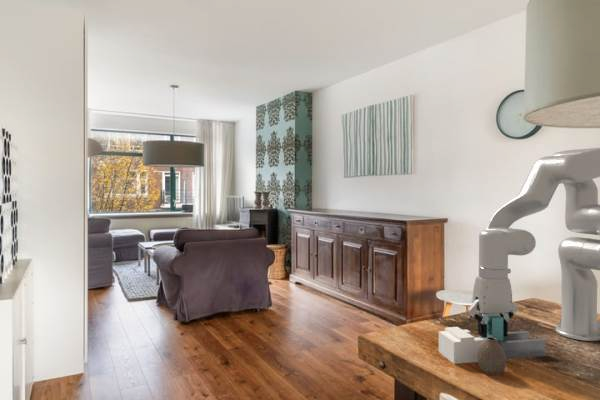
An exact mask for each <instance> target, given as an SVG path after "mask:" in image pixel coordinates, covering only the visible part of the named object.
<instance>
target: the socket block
mask: <svg viewBox="0 0 600 400" xmlns="http://www.w3.org/2000/svg"><path fill="white" fill-rule="evenodd" d="M471 333H472V332H471V331H470V330H469V329H462V328H460V327H458V326H449V327H444V330H440V331H438V353H439V354H441V355H442V356H443V357H445V358H446V359H447V360H448V361H449V362H450V363H452V364H453V365H455V364H457V365H458V364H459V365H460V364H468V363H470V364H471V363H478V360H477V352H478V349H479V347H480V346H481V345H482V344H483V343H484V340H483V339H482V338H483V337H481V336H480V337H475V336H473V335H472V334H471Z"/></svg>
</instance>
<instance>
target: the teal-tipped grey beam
mask: <svg viewBox="0 0 600 400" xmlns="http://www.w3.org/2000/svg"><path fill="white" fill-rule="evenodd" d="M485 324H487V337H493V338H496V339H497V341H498V342H501V341H503V317H501V316H499V314H488V316H487V319H486V322H485ZM481 338H482V339H483V340H484V342H485V340H486V338H483V337H481Z"/></svg>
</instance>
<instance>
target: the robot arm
mask: <svg viewBox="0 0 600 400" xmlns="http://www.w3.org/2000/svg"><path fill="white" fill-rule="evenodd" d="M597 178H600V147H591V148H590V147H589V148H581V149H568V150H561V151H558V152H555V153H553V154H552V155H549V156H544V157H540V158H538V159H537V160H535V162H534V164H533V165H532V167H531V169H530V171H529V173H528V174H527V177H526V179H525V181H524V183H523V185H522V186H521V189H520V191H519V192H518V194H517V195H516V196H515V197H513V198H512V199H510V200H508V202H506V203H505V204H504V205H502V206H501V207H500V208H499V209H498V210H497V211H496V212H495V213H494V214H493V215H492V217H491V218H490V220H489V222H488V224H487V227H486V228H485V229H484V230H481V231H480V232H479V235H478V276H476V277H475V280H474V284H473V290H472V303H471V304H470V306H469V307H468V308H467V310H466V311H467V312H468V313H469V315H471V316H472V317H473V319H474V320H475V321H476V322H477V333H478V335H479V336H480V337H481V338H487V324H485V322H486V319H487V316H488V314H497V315H499V316H501V317H503V336H507V332H509V330H508V329H509V328H508V327H509V323H510V322H511V319H512V318H513V316H514V315H515V313H516V312H518V310H519V309H518V306H517V305H516V304H515V303H514V302H513V290H512V284H511V280H510V278H509V274H511V272H512V270H511V268H509V256H510V255H511V256H521V257H522V256H526V255H529V254H531V253H532V252H533V251H534V250H535V248H536V245H537V241H536V238H535V236H534V234H532V233H531V232H530V231H528V230H525V229H521V228H511V226H512V225H513V224H514V223H516V221H519V220H521V219H522V218H526V217H528V216H531V215H534V214H536V213H537V214H538V213H539V212H542V211H544V210H545V209H547V208H548V207H549V205H550V202H551V200H552V199H553V196H554V194H555V193H556V190H557V188H558V187H559V185H560V184H562V185H563V186H564V189H565V190H564V191H565V209H564V210H565V213H564V220H565V222H564V223H565V227H566V229H567V230H569V231H570V232H572V233H575V234H585V235H595V236H596V235H597V236H600V204H599V199H598V198H599V189H598V186H597V184H596V182H595V181H594V179H597ZM557 251H558V252H557V253H558V258H559V262H560V270H561V302H560V303H561V308H560V310H561V319H560V320H561V321H560V323H561V324H558V325H556V326H555V332H556V333H558V334H559V335H560V336H562V337H565V338H569V339H573V340H579V341H583V342H584V341H585V342H598V341H600V321H598V281H597V278H596V276H595V273H594V271H600V239H596V238H591V237H589V238H588V237H579V236H573V237H572V236H571V237H567V238H564V239H563V240H562V241H561V242H560V243H559V246H558V249H557ZM593 270H594V271H593Z"/></svg>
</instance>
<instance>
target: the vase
mask: <svg viewBox="0 0 600 400" xmlns="http://www.w3.org/2000/svg"><path fill="white" fill-rule="evenodd" d="M477 360H478V362H477V364H478V366H479V368H480V369H481V370H482V371H483V372H484V373H485V374H487V375H489V376H490V375H491V376H499V375H500V374H502V373H503V372H504V371H505V369H506V366H507V359H506V354H505V352H504V350H503V348H502V347H501V346H500V344H499V343H498V341H497V339H496V338H493V337H487V338H486V340H485V342H484V343H483V344H482V345H481V346H480V347H479V349H478V352H477Z"/></svg>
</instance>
